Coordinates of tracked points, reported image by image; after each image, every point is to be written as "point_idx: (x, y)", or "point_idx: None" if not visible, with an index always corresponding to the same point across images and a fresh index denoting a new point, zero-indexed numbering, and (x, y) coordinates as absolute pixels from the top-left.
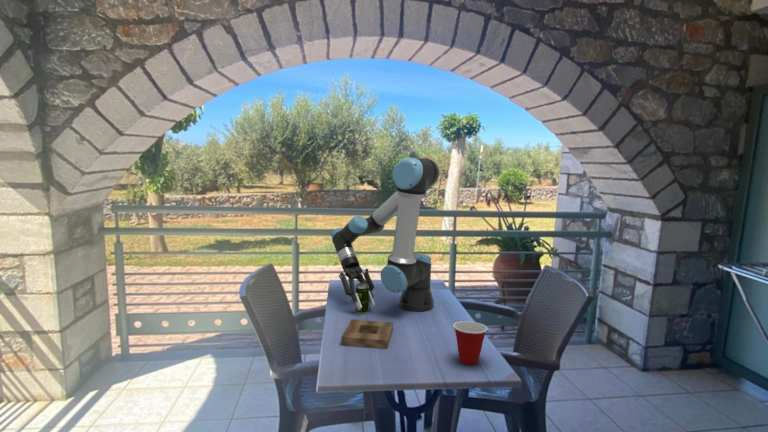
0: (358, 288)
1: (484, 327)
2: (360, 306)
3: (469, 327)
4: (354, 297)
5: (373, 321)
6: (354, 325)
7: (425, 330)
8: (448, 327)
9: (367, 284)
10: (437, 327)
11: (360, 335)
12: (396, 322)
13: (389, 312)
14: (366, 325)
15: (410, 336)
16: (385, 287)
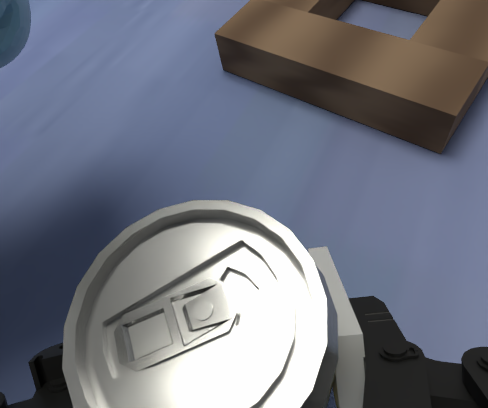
0: (316, 267)
1: None
2: (326, 248)
3: None
4: (377, 322)
5: (314, 60)
6: (454, 40)
7: (101, 39)
8: None
9: (89, 304)
10: (38, 50)
11: None
12: (150, 135)
13: None
14: (375, 32)
15: (193, 12)
16: (21, 36)
